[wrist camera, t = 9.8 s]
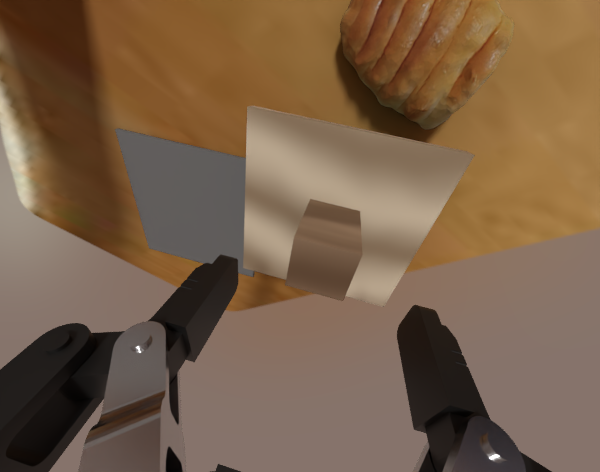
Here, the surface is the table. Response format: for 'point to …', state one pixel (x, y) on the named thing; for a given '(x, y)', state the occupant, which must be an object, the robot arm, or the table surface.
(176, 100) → the table surface
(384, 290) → the lid
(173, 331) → the robot arm
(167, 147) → the mat
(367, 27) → the pastry
